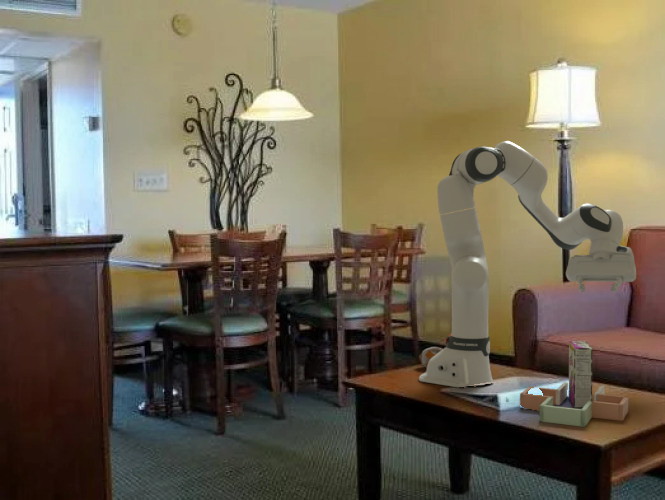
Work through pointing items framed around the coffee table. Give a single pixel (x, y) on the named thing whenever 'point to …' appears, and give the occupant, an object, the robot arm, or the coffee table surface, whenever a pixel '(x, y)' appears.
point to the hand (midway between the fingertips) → (597, 290)
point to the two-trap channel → (598, 408)
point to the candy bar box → (580, 373)
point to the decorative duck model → (428, 355)
